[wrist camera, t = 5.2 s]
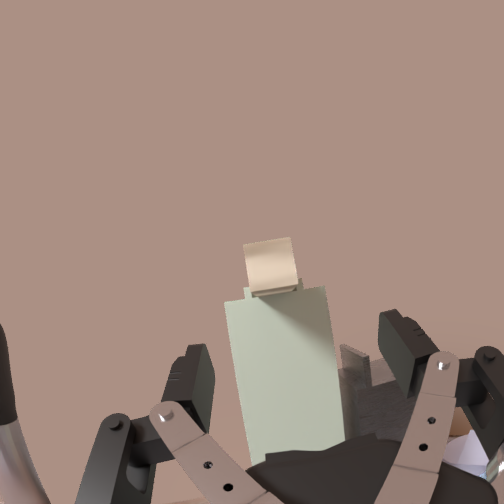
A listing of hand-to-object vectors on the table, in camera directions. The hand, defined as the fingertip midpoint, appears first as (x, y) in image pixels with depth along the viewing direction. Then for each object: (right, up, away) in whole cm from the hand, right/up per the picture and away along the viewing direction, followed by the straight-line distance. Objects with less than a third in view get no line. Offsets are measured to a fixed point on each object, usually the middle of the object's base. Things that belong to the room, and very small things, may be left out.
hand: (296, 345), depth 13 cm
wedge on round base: (+32, -28, +12) cm, 44 cm away
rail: (0, 0, +16) cm, 16 cm away
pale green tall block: (+5, -32, +14) cm, 35 cm away
